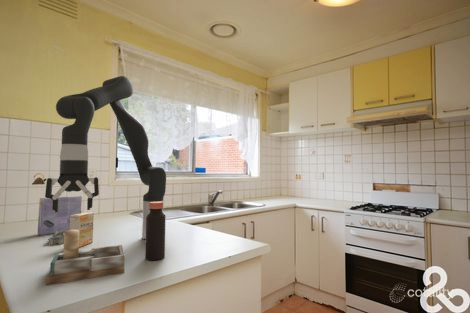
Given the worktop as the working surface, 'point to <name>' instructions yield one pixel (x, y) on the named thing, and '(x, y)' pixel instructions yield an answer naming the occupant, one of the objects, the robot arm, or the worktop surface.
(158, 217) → the bottle
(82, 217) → the supplement box
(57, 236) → the egg carton
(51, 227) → the cake pan box
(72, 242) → the keyhole peg
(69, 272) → the brown shallow boxy piece
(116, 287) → the worktop surface
